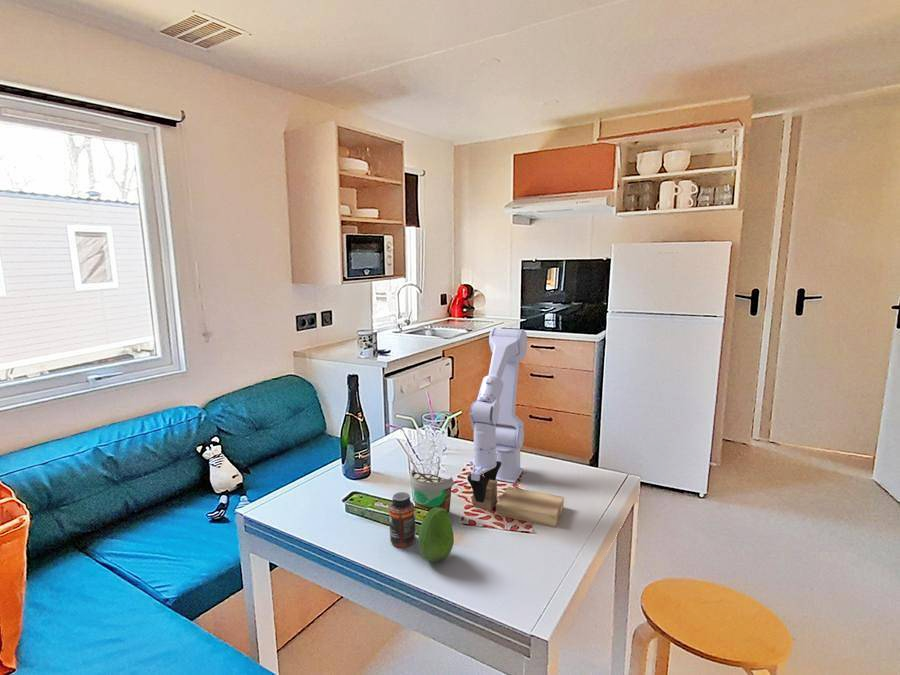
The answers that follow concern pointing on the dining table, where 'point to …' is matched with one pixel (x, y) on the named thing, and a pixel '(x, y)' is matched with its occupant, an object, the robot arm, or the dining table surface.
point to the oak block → (530, 506)
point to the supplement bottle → (402, 520)
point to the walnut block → (488, 497)
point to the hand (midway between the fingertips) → (484, 494)
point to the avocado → (436, 535)
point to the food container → (431, 491)
